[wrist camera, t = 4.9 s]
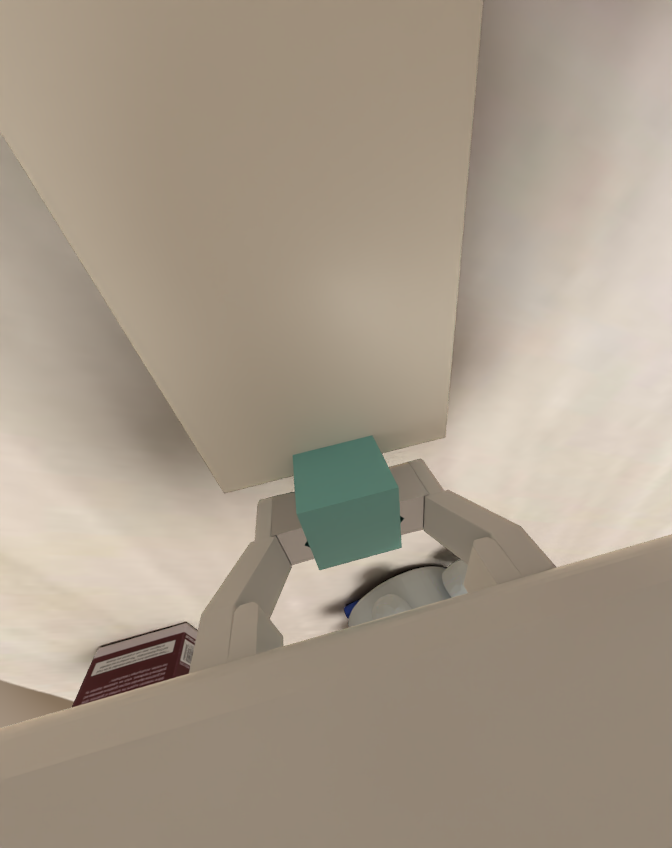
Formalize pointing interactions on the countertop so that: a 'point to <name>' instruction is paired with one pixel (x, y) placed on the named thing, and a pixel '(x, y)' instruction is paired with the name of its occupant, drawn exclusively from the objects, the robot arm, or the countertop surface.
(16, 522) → the countertop surface
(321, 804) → the robot arm
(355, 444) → the lid
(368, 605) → the figurine
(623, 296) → the countertop surface
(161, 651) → the supplement box
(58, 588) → the countertop surface
